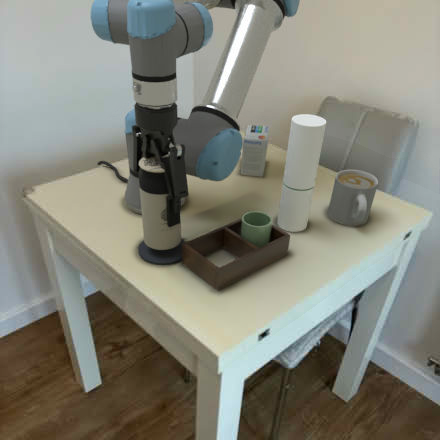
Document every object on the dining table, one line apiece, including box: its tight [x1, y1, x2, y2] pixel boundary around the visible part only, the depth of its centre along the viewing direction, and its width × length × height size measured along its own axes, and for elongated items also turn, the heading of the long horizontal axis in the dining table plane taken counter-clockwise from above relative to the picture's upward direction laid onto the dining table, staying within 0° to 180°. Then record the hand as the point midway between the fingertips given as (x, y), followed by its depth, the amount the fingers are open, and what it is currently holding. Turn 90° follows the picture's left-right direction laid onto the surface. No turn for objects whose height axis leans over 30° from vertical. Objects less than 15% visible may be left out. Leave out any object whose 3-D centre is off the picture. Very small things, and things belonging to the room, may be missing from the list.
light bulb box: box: [240, 124, 270, 178], centre depth 130 cm, size 11×7×11 cm, turn 172°
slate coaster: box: [137, 237, 187, 266], centre depth 100 cm, size 11×11×1 cm
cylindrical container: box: [277, 113, 327, 233], centre depth 102 cm, size 7×7×25 cm
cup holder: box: [181, 217, 291, 292], centre depth 97 cm, size 12×20×5 cm, turn 131°
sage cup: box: [240, 210, 273, 248], centre depth 99 cm, size 6×6×8 cm
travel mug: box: [139, 155, 182, 250], centre depth 92 cm, size 8×8×18 cm
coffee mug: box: [327, 169, 379, 227], centre depth 110 cm, size 13×10×10 cm
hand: (161, 215), depth 94 cm, fingers closed on travel mug, 8 cm apart
